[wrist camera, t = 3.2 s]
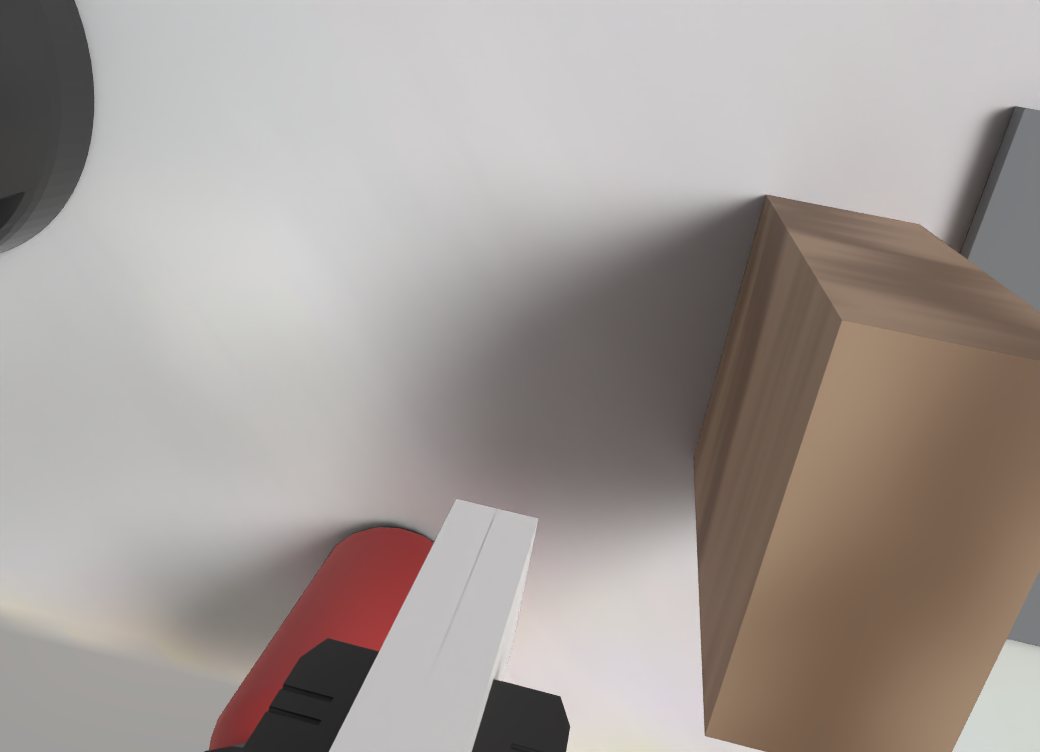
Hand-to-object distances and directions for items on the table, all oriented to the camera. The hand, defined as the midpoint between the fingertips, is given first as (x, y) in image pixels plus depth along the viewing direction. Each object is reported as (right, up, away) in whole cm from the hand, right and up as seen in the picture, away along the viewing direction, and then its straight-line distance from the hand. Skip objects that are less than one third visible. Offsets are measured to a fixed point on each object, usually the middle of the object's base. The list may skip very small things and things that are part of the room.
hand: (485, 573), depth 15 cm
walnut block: (+10, +4, +14) cm, 18 cm away
